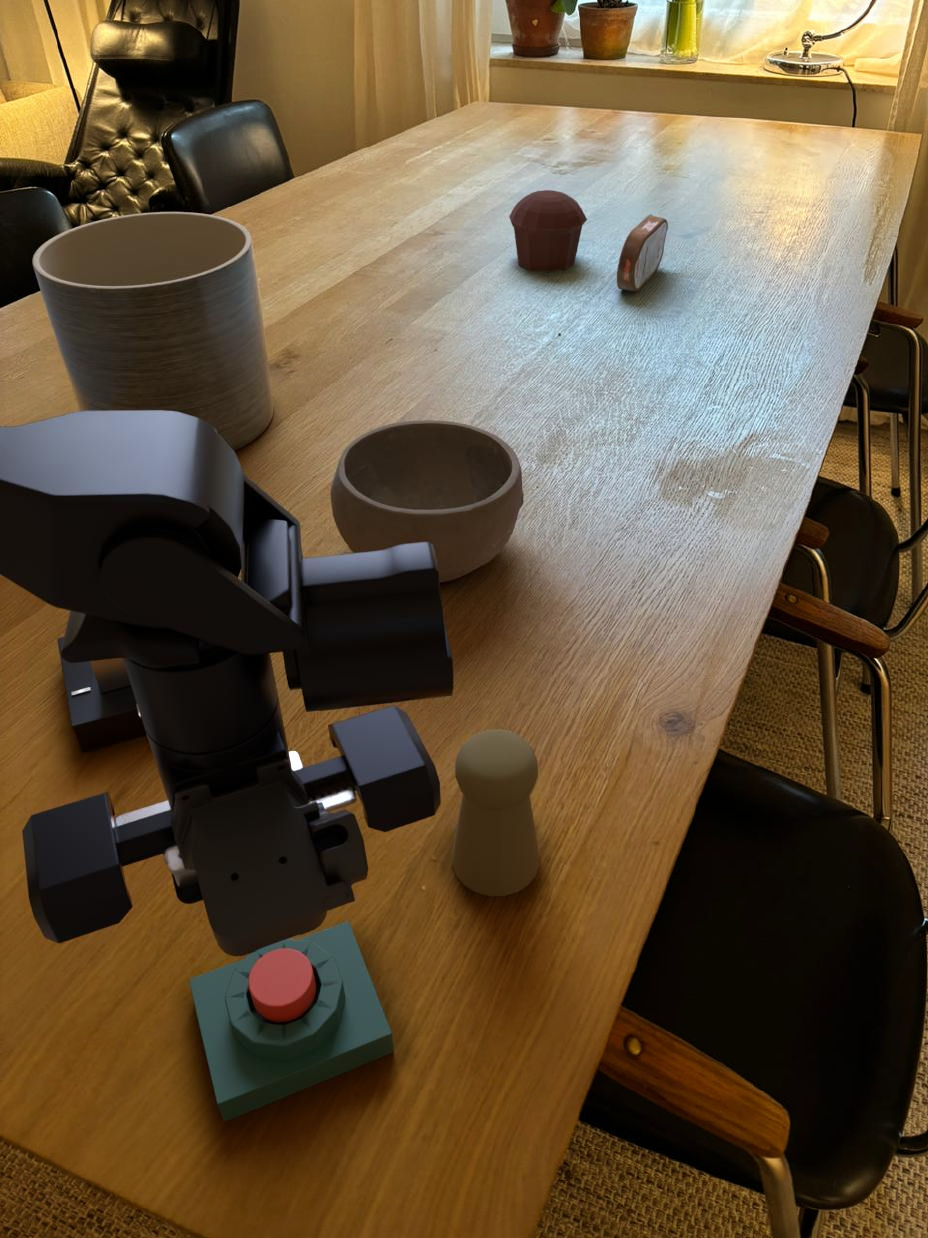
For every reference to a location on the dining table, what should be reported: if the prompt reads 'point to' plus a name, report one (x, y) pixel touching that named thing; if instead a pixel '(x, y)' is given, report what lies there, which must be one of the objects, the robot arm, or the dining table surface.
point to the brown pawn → (496, 814)
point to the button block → (289, 1025)
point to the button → (282, 985)
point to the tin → (641, 253)
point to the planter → (161, 318)
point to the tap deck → (99, 708)
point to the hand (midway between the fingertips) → (264, 914)
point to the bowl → (429, 492)
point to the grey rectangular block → (110, 674)
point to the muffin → (547, 230)
